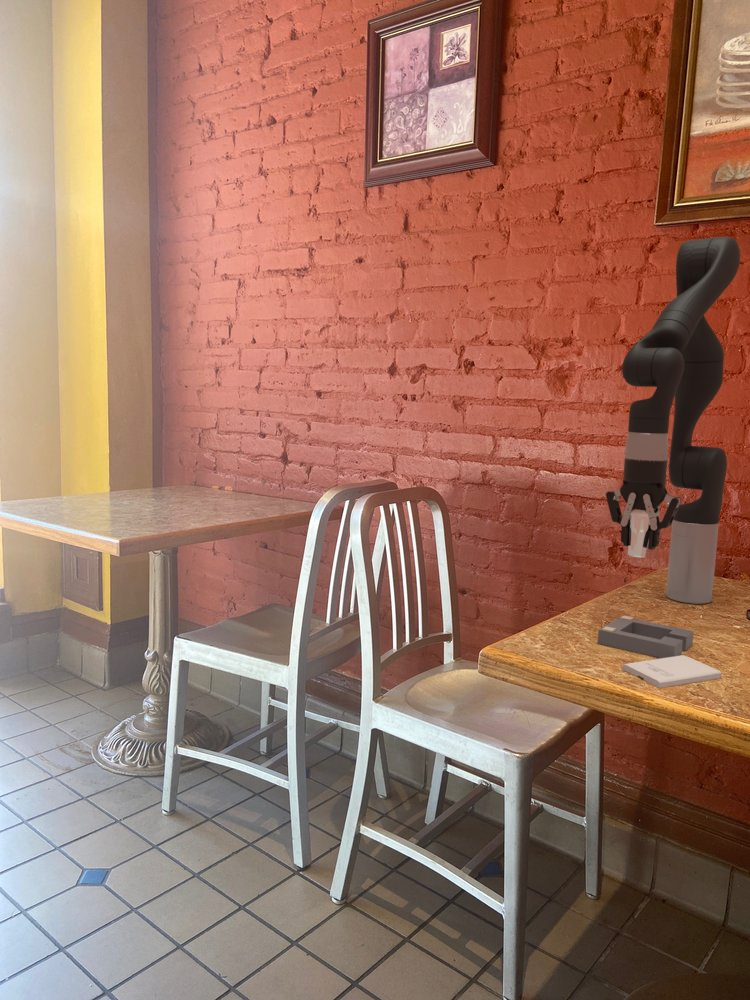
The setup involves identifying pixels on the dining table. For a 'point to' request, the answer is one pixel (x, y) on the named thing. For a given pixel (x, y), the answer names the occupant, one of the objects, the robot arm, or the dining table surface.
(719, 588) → the dining table surface
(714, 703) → the dining table surface
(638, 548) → the milkshake
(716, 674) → the external hard drive
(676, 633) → the frame
